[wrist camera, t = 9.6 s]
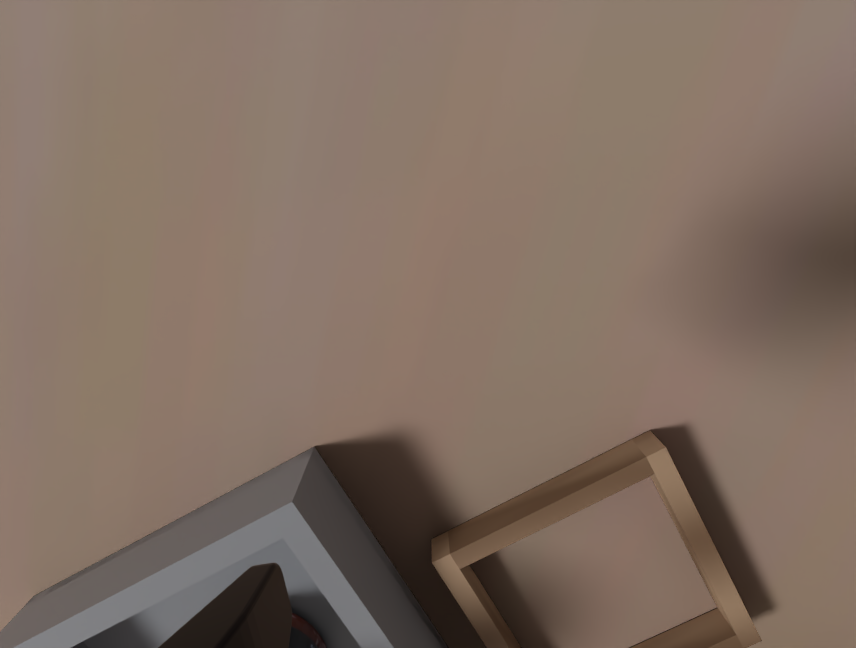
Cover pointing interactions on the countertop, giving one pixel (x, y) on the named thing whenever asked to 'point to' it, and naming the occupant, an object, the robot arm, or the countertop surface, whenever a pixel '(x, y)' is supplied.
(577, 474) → the tan wooden square frame
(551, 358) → the countertop surface
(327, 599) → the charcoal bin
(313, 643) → the supplement bottle
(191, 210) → the countertop surface
